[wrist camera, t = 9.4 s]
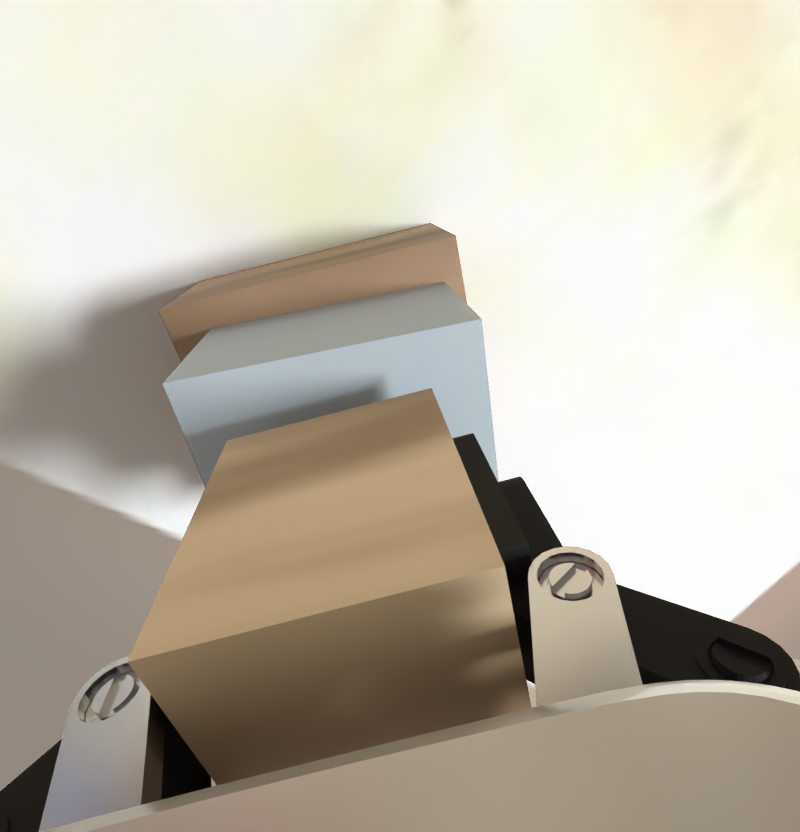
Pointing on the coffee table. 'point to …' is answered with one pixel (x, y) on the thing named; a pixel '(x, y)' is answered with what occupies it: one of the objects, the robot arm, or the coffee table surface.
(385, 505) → the oak block
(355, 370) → the slate cube
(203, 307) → the walnut base block
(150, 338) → the coffee table surface
